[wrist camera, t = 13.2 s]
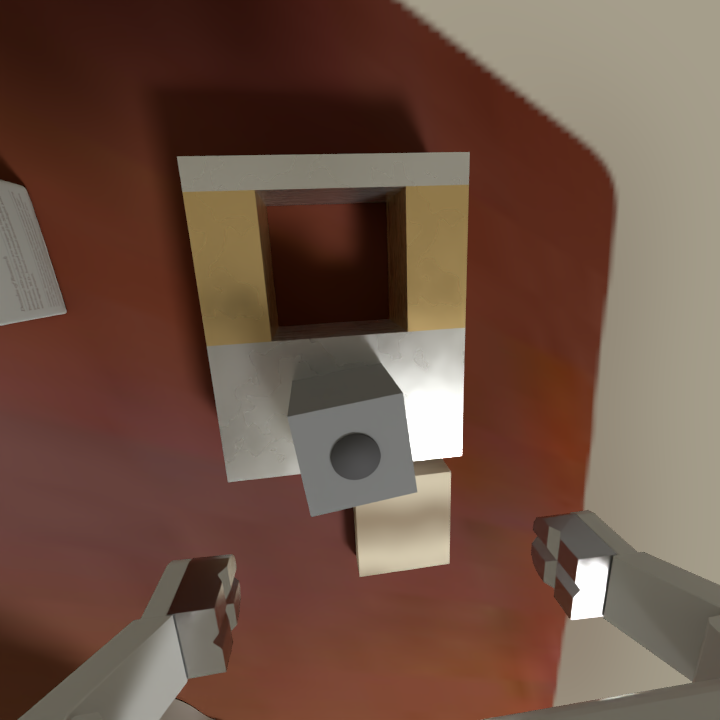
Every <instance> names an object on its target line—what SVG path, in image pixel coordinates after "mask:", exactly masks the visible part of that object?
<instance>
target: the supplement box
mask: <svg viewBox="0 0 720 720" xmlns="http://www.w3.org/2000/svg"><path fill="white" fill-rule="evenodd" d="M66 312H67V310H66V308H65V304H64V301H63V298H62V294H61V291H60V288H59V285H58V282H57V279H56V276H55V273H54V270H53V266H52V263H51V261H50V258H49V254H48V251H47V248H46V245H45V242H44V239H43V236H42V233H41V230H40V227H39V224H38V221H37V218H36V215H35V212H34V208H33V206H32V203H31V200H30V198H29V195H28V192H27V190H26V188H25V187H24V186H22V185H18V184H15V183H11V182H7V181H4V180H0V326H1V325H6V324H11V323H16V322H21V321H27V320H32V319H38V318H43V317H49V316H54V315H60V314H65V313H66Z"/></svg>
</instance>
